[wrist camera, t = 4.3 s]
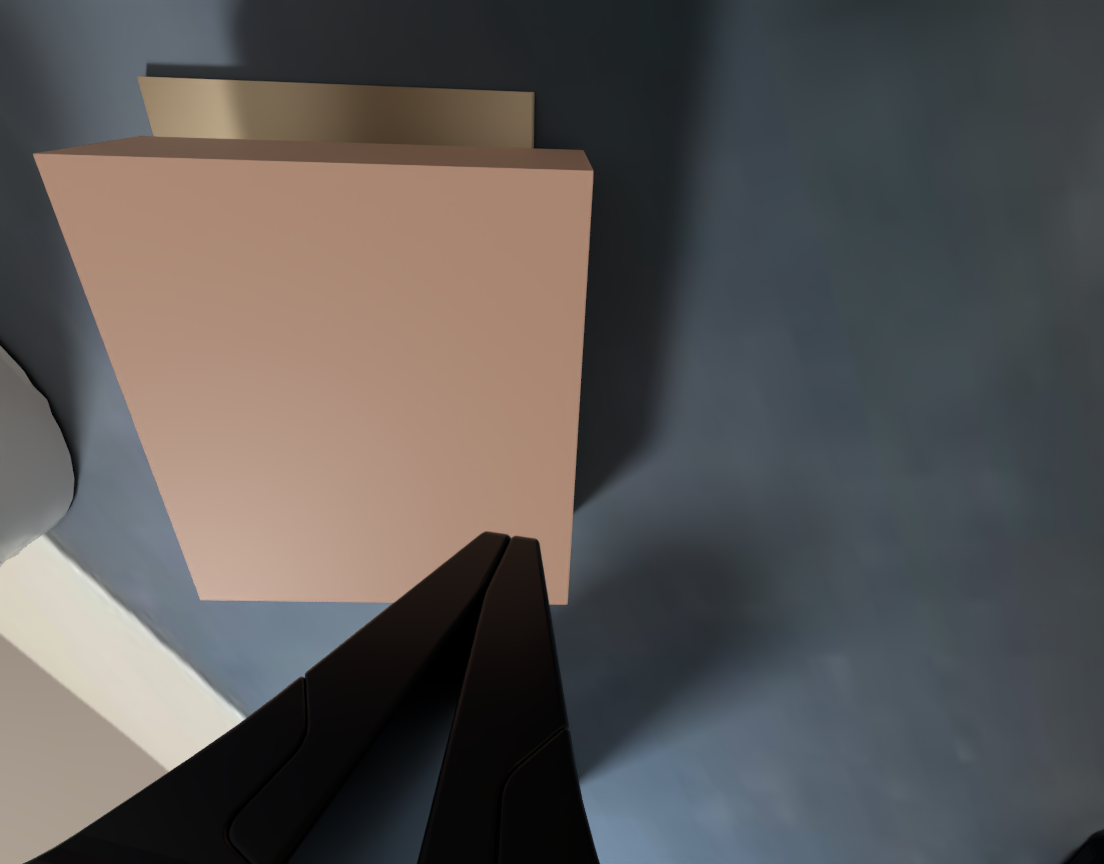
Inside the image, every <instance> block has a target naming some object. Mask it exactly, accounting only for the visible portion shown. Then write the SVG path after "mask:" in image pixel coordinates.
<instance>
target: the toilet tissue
mask: <svg viewBox="0 0 1104 864" xmlns="http://www.w3.org/2000/svg"><path fill="white" fill-rule="evenodd" d="M73 491H74V474H73V468H72V462H71V457H70V453H69V451H68V448H67V446H66V443H65V440H64V438H63V435H62V433H61V430H60V428H59V426H58V424H57V423H56V421H55V419H54V417H53V416H52V413H51V410H50V407H49V404H48V401H47V399H46V398H45V397H44V396H43V395H42V394H41V393H40V392H39V391H38V390H37V389H36V388H35V387H34V386H33V385H32V384H31V382H30V380H29V379H28V377H27V375H26V374H25V372H24V371H23V370H22V368H21V367H20V366H19V365H18V364H17V363H16V362H15V361H14V360H13V359H12V358H11V357H10V356H9V355H8V353H7V352H6V351H5V350H4V349H3V348H2V347H1V346H0V567H1V565H2V564H3V563H4V562H5V561H6V560H8V559H10V558H12V557H14V556H16V555H18V554H19V552H20V551H21V550H22V549H23V548H24V547H26V546H27V545H28V544H30V543H31V542H33V541H34V540H36V539H37V538H39V537H40V536H41V535H43V534H44V533H46V532H47V531H48V530H49V529H51V528H52V527H54V526H55V525H56V524H57V523H58V522H59V521H60V520H61V519H62V518H63V517H64V516H65V515H66V514H67V511H68V509H69V506H70V504H71V502H72V499H73Z"/></svg>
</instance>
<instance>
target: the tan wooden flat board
mask: <svg viewBox="0 0 1104 864" xmlns="http://www.w3.org/2000/svg"><path fill="white" fill-rule="evenodd" d="M137 78H138V82H139V85H140V89H141V92H142V96H143V100H144V103H145V107H146V110H147V114H148V118H149V121H150V125H151V128H152V132H153V136H154V137H185V138H217V139H249V140H281V141H312V142H344V143H376V144H408V145H439V146H471V147H503V148H534V92H517V91H492V90H467V89H443V88H418V87H393V86H368V85H344V84H319V83H294V82H269V81H245V80H220V79H195V78H170V77H146V76H137Z"/></svg>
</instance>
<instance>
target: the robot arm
mask: <svg viewBox="0 0 1104 864" xmlns="http://www.w3.org/2000/svg"><path fill="white" fill-rule="evenodd" d="M568 729H569V724H568V718H567V711H566V705H565V699H564V693H563V686H562V680H561V674H560V668H559V661H558V655H557V649H556V643H555V636H554V630H553V624H552V618H551V612H550V605H549V599H548V593H547V587H546V580H545V574H544V568H543V562H542V555H541V549H540V543H539V541H538V540H537V539H536V538H530V537H523V536H513V537H512V538H511V537H510V536H509V535H508V534H504V533H497V532H490V531H485V532H483V533H481V534H480V535H478V536H477V537H476V538H475V539H473V540H472V541H471V542H470V543H468V544H467V545H466V546H465V547H463V548H462V549H461V550H460V551H458V552H457V553H456V554H455V555H453V556H452V557H451V558H449V559H448V560H447V561H446V562H444V563H443V564H442V565H441V566H439V567H438V568H437V569H436V570H434V571H433V572H432V573H431V574H429V575H428V576H427V577H426V578H424V579H423V580H422V581H421V582H419V583H418V584H417V585H415V586H414V587H413V588H412V589H410V590H409V591H408V592H407V593H405V594H404V595H403V596H402V597H400V598H399V599H398V600H397V601H395V602H394V603H393V604H392V605H390V606H389V607H388V608H386V609H385V610H384V611H383V612H381V613H380V614H379V615H378V616H376V617H375V618H374V619H373V620H371V621H370V622H369V623H368V624H366V625H365V626H364V627H363V628H361V629H360V630H359V631H358V632H356V633H355V634H354V635H352V636H351V637H350V638H349V639H347V640H346V641H345V642H344V643H342V644H341V645H340V646H339V647H337V648H336V649H335V650H334V651H332V652H331V653H330V654H329V655H327V656H326V657H325V658H323V659H322V660H321V661H320V662H318V663H317V664H316V665H315V666H313V667H312V668H311V669H310V670H308V671H307V672H306V673H305V678H304V677H299V678H298V679H297V680H295V681H294V682H293V683H292V684H290V685H289V686H288V687H287V688H285V689H284V690H283V691H282V692H280V693H279V694H278V695H276V696H275V697H274V698H273V699H271V700H270V701H269V702H267V703H266V704H265V705H263V706H262V707H261V708H259V709H258V710H257V711H255V712H254V713H253V714H251V715H250V716H249V717H247V718H246V719H245V720H244V721H242V722H241V723H240V724H238V725H237V726H235V727H234V728H233V729H231V730H230V731H228V732H227V733H225V734H224V735H222V736H221V737H220V738H218V739H217V740H215V741H214V742H212V743H211V744H209V745H208V746H207V747H205V748H204V749H202V750H201V751H199V752H198V753H196V754H195V755H194V756H192V757H191V758H189V759H188V760H186V761H185V762H183V763H182V764H180V765H179V766H177V767H176V768H174V769H173V770H171V771H170V772H168V773H167V774H165V775H164V776H162V777H161V778H159V779H158V780H157V781H155V782H153V783H152V784H150V785H149V786H147V787H146V788H144V789H143V790H141V791H140V792H138V793H137V794H135V795H134V796H132V797H131V798H129V799H128V800H126V801H125V802H123V803H122V804H120V805H119V806H117V807H116V808H114V809H113V810H111V811H110V812H108V813H107V814H105V815H104V816H103V817H101V818H99V819H98V820H96V821H95V822H93V823H92V824H90V825H89V826H87V827H86V828H84V829H83V830H81V831H80V832H78V833H77V834H75V835H73V836H72V837H70V838H68V839H67V840H65V841H64V842H62V843H61V844H59V845H57V846H56V847H54V848H52V849H50V850H48V851H47V852H45V853H43V854H41V855H39V856H37V857H36V858H34V859H32V860H30V861H28V862H25V863H23V864H600V863H599V859H598V856H597V853H596V849H595V845H594V842H593V838H592V834H591V831H590V827H589V823H588V819H587V816H586V812H585V808H584V804H583V800H582V795H581V790H580V785H579V780H578V775H577V770H576V765H575V760H574V753H573V747H572V741H571V734H570V731H569V730H568ZM1069 864H1104V840H1097V841H1094V842H1091V843H1089V844H1088V845H1087V846H1086V847H1085V848H1084V849H1083V850H1082V851H1081V852H1080V853H1079V854H1078V855H1077V856H1076V857H1075V858H1074V859H1073V860H1072V861H1071V862H1070V863H1069Z"/></svg>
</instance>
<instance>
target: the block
mask: <svg viewBox="0 0 1104 864" xmlns="http://www.w3.org/2000/svg"><path fill="white" fill-rule="evenodd" d="M33 156H34V159H35V161H36V164H37V167H38V169H39V172H40V175H41V177H42V180H43V183H44V185H45V188H46V191H47V193H48V196H49V198H50V201H51V204H52V206H53V209H54V212H55V214H56V217H57V220H58V222H59V225H60V228H61V230H62V233H63V236H64V238H65V241H66V244H67V246H68V249H69V252H70V254H71V257H72V260H73V262H74V265H75V268H76V270H77V273H78V276H79V278H80V281H81V284H82V286H83V289H84V292H85V294H86V297H87V300H88V302H89V305H90V307H91V310H92V313H93V315H94V318H95V321H96V323H97V326H98V329H99V331H100V334H101V337H102V339H103V342H104V345H105V347H106V350H107V353H108V355H109V358H110V361H111V363H112V366H113V369H114V371H115V374H116V377H117V379H118V382H119V385H120V387H121V390H122V393H123V395H124V398H125V401H126V403H127V406H128V409H129V411H130V414H131V416H132V419H133V422H134V424H135V427H136V430H137V432H138V435H139V438H140V440H141V443H142V446H143V448H144V451H145V454H146V456H147V459H148V462H149V464H150V467H151V470H152V472H153V475H154V478H155V480H156V483H157V486H158V488H159V491H160V494H161V496H162V499H163V502H164V504H165V507H166V510H167V512H168V515H169V517H170V520H171V523H172V525H173V528H174V531H175V533H176V536H177V539H178V541H179V544H180V547H181V549H182V552H183V555H184V557H185V560H186V563H187V565H188V568H189V571H190V573H191V576H192V579H193V581H194V584H195V587H196V589H197V592H198V595H199V597H200V600H228V601H308V602H388V603H394V602H395V601H397V600H398V599H399V598H400V597H402V596H403V595H404V594H405V593H407V592H408V591H409V590H410V589H412V588H413V587H414V586H415V585H417V584H418V583H419V582H421V581H422V580H423V579H424V578H426V577H427V576H428V575H429V574H431V573H432V572H433V571H434V570H436V569H437V568H438V567H439V566H441V565H442V564H443V563H444V562H446V561H447V560H448V559H449V558H451V557H452V556H453V555H455V554H456V553H457V552H458V551H460V550H461V549H462V548H463V547H465V546H466V545H467V544H468V543H470V542H471V541H472V540H473V539H475V538H476V537H477V536H478V535H480V534H481V533H483V532H485V531H490V532H497V533H504V534H508V535H509V536H510V537H511V538H512V537H513V536H523V537H530V538H536V539H537V540H538V541H539V543H540V549H541V555H542V562H543V568H544V574H545V580H546V587H547V593H548V599H549V605H567V604H568V587H569V571H570V554H571V537H572V521H573V504H574V488H575V471H576V455H577V438H578V422H579V405H580V388H581V372H582V355H583V339H584V322H585V306H586V289H587V273H588V256H589V240H590V223H591V206H592V190H593V173H594V170H593V168H592V166H591V164H590V162H589V160H588V158H587V156H586V154H585V152H584V150H566V149H535V148H503V147H471V146H439V145H408V144H376V143H344V142H312V141H281V140H249V139H217V138H185V137H154V136H137V137H131V138H125V139H119V140H113V141H107V142H101V143H95V144H88V145H82V146H76V147H70V148H64V149H58V150H52V151H46V152H39V153H33Z"/></svg>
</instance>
